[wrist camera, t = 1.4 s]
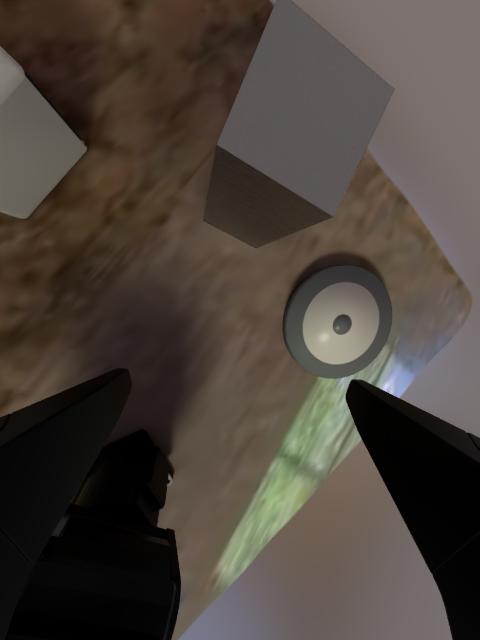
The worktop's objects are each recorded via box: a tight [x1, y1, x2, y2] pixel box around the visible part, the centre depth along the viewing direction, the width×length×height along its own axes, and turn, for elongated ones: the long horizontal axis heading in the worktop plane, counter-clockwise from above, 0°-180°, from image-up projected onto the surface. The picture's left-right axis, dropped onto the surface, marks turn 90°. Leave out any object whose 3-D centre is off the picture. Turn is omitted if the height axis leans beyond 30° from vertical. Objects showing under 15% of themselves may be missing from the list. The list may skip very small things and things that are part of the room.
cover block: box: [204, 0, 394, 248], centre depth 14 cm, size 5×5×12 cm
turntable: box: [283, 265, 392, 378], centre depth 23 cm, size 11×11×1 cm
